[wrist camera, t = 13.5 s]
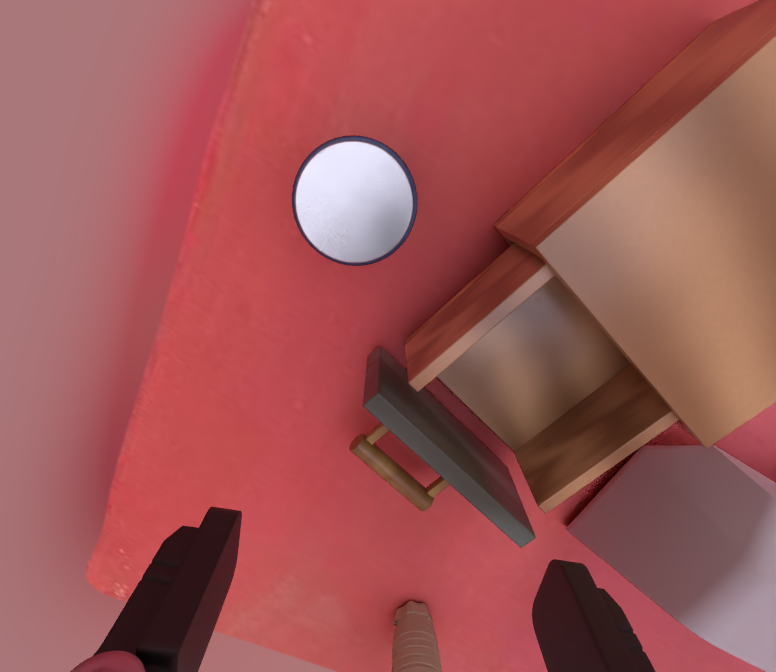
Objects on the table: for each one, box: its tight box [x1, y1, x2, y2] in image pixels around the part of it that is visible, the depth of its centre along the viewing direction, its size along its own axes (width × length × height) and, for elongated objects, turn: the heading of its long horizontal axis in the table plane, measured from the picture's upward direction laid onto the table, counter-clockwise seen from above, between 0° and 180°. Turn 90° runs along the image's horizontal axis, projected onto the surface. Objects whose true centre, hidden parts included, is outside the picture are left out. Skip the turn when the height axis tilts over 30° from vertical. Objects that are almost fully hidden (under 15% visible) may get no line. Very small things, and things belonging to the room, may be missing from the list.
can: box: [292, 136, 417, 266], centre depth 23 cm, size 5×5×11 cm
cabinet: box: [493, 0, 776, 448], centre depth 25 cm, size 16×15×9 cm
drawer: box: [349, 242, 679, 548], centre depth 28 cm, size 20×14×7 cm
